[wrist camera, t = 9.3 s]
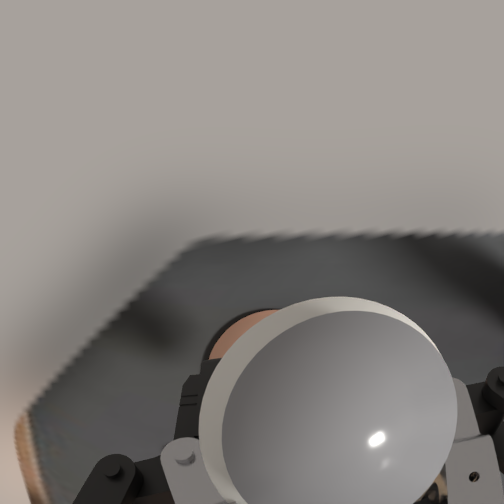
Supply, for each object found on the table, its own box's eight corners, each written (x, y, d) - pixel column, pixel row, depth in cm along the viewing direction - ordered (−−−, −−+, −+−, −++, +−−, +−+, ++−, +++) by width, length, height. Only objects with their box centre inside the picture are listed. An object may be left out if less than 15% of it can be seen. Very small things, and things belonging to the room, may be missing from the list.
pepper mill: (331, 353, 16) (439, 253, 5) (349, 438, 13) (489, 491, 3) (239, 370, 15) (167, 306, 5) (255, 458, 13) (215, 576, 2)
